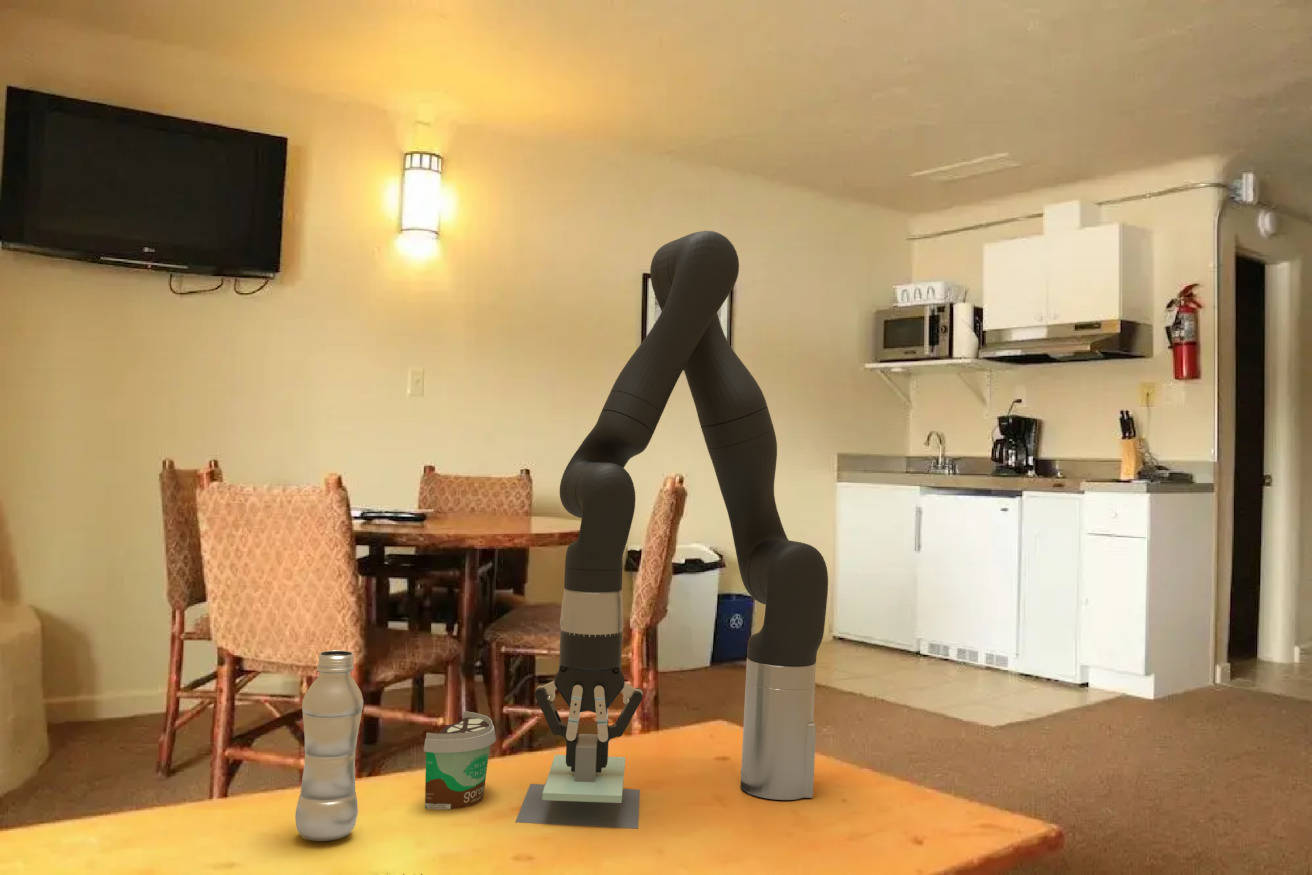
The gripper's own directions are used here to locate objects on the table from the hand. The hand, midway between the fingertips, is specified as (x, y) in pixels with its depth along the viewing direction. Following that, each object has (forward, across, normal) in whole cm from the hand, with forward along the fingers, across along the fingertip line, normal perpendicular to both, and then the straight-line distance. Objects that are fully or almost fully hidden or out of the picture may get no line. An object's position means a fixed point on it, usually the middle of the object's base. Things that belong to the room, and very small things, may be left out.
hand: (586, 769), depth 124 cm
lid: (+1, 0, 0) cm, 1 cm away
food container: (+5, +14, 0) cm, 15 cm away
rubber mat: (+5, 0, 0) cm, 5 cm away
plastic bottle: (+5, +28, +12) cm, 30 cm away
